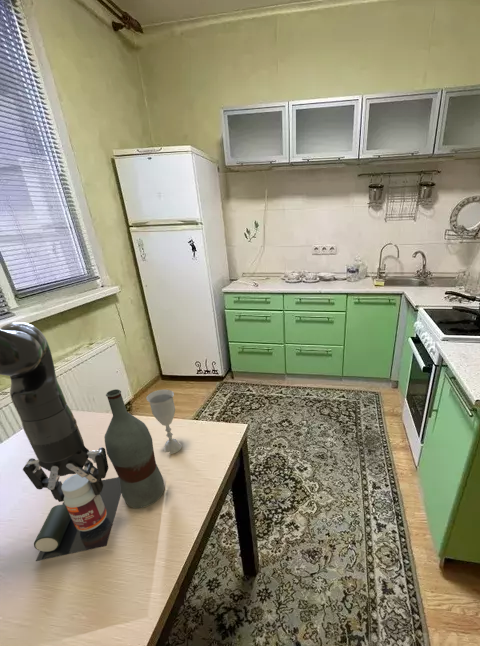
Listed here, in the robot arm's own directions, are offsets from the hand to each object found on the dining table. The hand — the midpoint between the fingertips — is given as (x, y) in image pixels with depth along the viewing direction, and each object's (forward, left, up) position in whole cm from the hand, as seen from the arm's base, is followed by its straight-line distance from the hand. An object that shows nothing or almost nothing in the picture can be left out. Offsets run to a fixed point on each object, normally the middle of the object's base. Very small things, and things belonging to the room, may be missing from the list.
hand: (81, 495), depth 67 cm
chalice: (+15, +24, -11) cm, 30 cm away
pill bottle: (0, 0, -8) cm, 8 cm away
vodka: (+10, +6, -11) cm, 16 cm away
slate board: (-2, +4, -10) cm, 11 cm away
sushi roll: (-7, -1, -9) cm, 11 cm away
